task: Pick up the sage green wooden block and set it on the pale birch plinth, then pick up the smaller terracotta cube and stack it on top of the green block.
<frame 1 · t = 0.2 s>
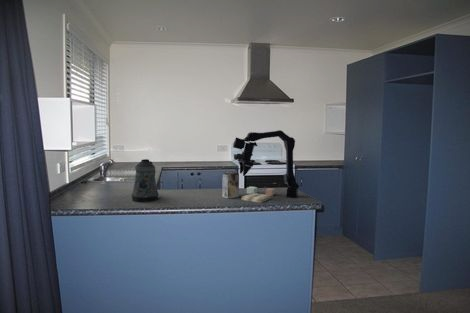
hand: (242, 174, 219), 15 cm above the countertop, tool pointing down, fingers open, 9 cm apart
birch plinth: (256, 199, 217), on the countertop
terracotta cube: (270, 194, 231), on the countertop
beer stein: (145, 198, 215), on the countertop
sage block: (251, 193, 236), on the countertop
coffee box: (230, 197, 222), on the countertop
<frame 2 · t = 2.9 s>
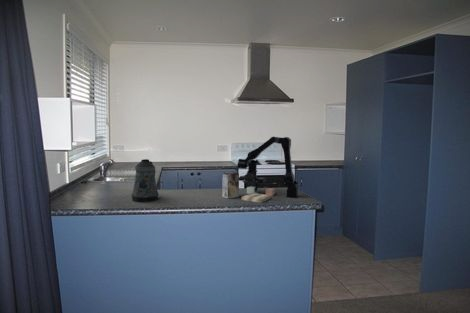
hand: (252, 191, 236), 1 cm above the countertop, tool pointing down, fingers closed on sage block, 5 cm apart
sage block: (251, 192, 236), on the countertop, touching gripper
everything else where it was.
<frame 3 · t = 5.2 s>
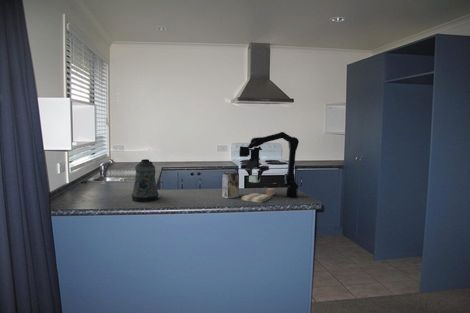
hand: (254, 180, 224), 11 cm above the countertop, tool pointing down, fingers closed on sage block, 5 cm apart
sage block: (254, 181, 224), point 10 cm above the countertop, touching gripper
everything else where it was.
when the fingers open (4 cm above the countertop, at t = 7.4 s): sage block drops 1 cm, resting on birch plinth.
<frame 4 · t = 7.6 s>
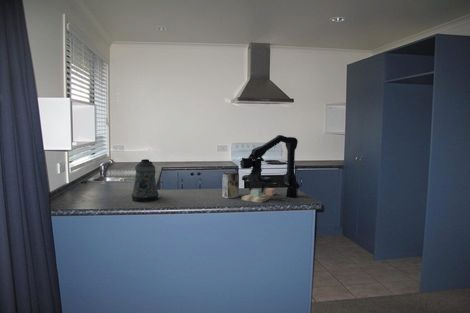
hand: (256, 192, 217), 4 cm above the countertop, tool pointing down, fingers open, 8 cm apart
sage block: (256, 196, 217), point 2 cm above the countertop, touching birch plinth
everything else where it was.
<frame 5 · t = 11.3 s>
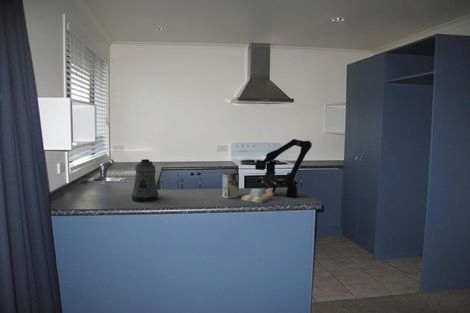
hand: (270, 193, 231), 1 cm above the countertop, tool pointing down, fingers closed on terracotta cube, 4 cm apart
terracotta cube: (270, 194, 231), on the countertop, touching gripper
everything else where it was.
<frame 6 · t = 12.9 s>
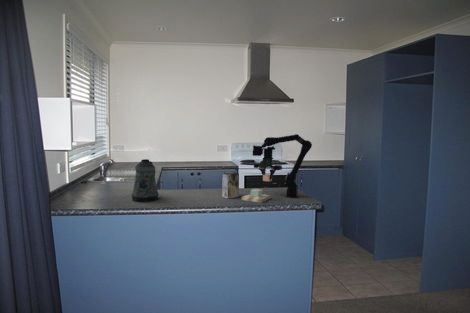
hand: (267, 179, 227), 11 cm above the countertop, tool pointing down, fingers closed on terracotta cube, 4 cm apart
terracotta cube: (267, 180, 227), point 10 cm above the countertop, touching gripper
everything else where it was.
when the fingers open (8 cm above the countertop, at t = 14.5 s): terracotta cube drops 1 cm, resting on sage block.
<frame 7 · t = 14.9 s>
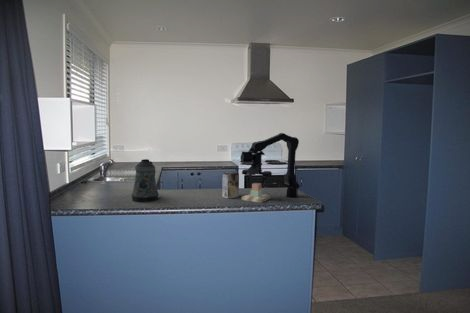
hand: (256, 186, 216), 8 cm above the countertop, tool pointing down, fingers open, 8 cm apart
terracotta cube: (256, 189, 217), point 6 cm above the countertop, touching sage block
sage block: (256, 196, 217), point 2 cm above the countertop, touching birch plinth, terracotta cube
everything else where it was.
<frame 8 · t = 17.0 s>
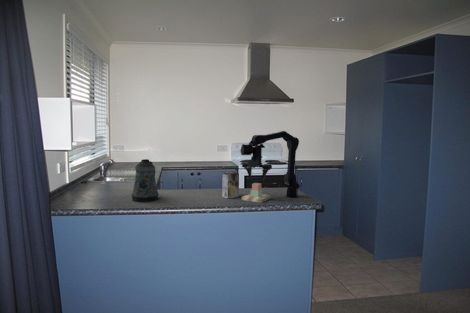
hand: (256, 179, 216), 13 cm above the countertop, tool pointing down, fingers open, 9 cm apart
nothing on the countertop moved.
at the end: sage block 0.0 cm off-centre on the birch plinth, point 2.0 cm above the birch plinth's base; terracotta cube 0.1 cm off-centre on the sage block, point 4.0 cm above the sage block's base; terracotta cube tilted 0° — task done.
